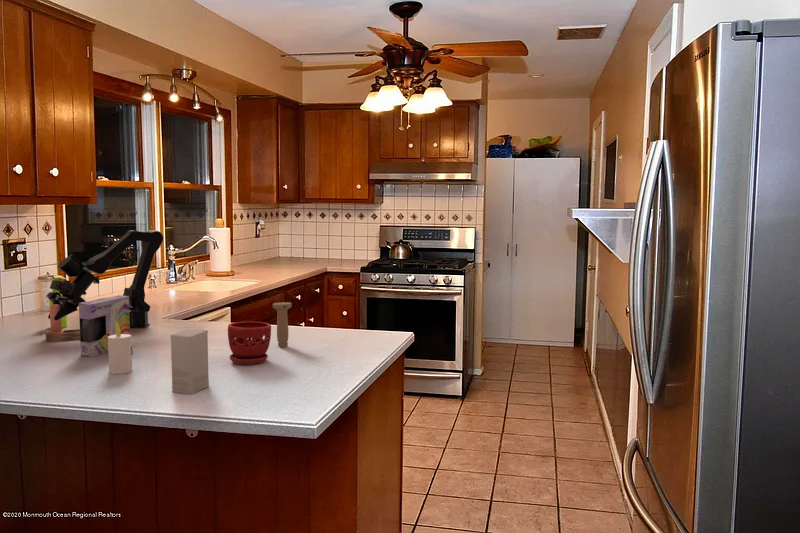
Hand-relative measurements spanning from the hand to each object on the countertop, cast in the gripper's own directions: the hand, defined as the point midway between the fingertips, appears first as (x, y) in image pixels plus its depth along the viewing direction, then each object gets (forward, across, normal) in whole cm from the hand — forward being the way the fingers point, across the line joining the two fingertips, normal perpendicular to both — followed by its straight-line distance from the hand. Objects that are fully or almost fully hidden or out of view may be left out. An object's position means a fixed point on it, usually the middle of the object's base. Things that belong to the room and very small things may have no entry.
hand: (51, 319), depth 243 cm
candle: (+15, +62, -4) cm, 64 cm away
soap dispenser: (-5, -22, +16) cm, 28 cm away
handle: (-21, +77, +32) cm, 86 cm away
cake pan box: (+6, +33, +5) cm, 34 cm away
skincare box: (+16, +95, -5) cm, 96 cm away
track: (+1, +2, +9) cm, 10 cm away
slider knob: (+4, 0, +6) cm, 7 cm away
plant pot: (-6, +84, +17) cm, 86 cm away
